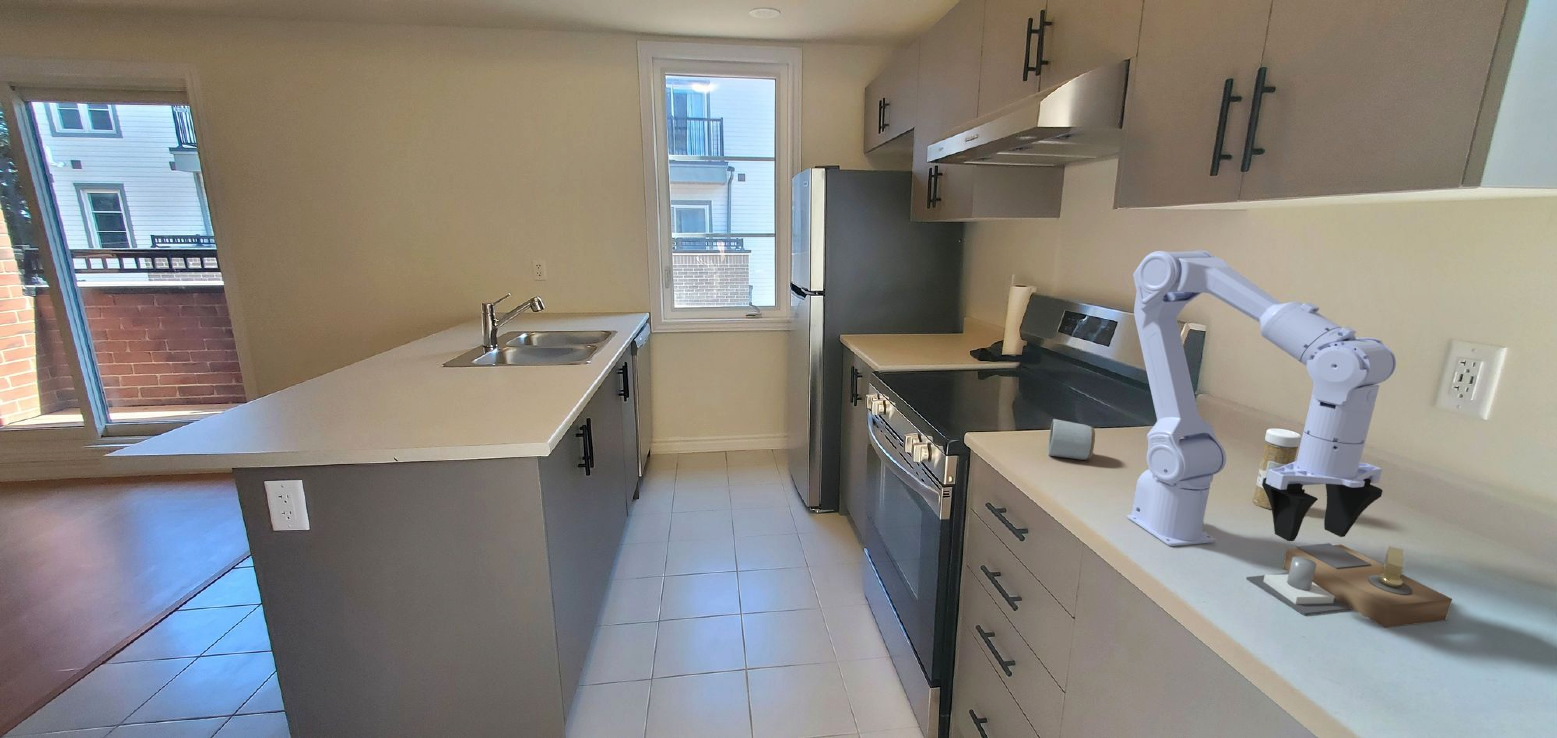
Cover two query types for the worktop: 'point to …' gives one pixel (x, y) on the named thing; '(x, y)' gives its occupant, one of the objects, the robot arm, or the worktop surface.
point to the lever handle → (1392, 568)
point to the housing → (1370, 587)
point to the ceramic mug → (1071, 440)
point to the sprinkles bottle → (1275, 458)
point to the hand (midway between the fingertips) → (1309, 535)
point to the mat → (1301, 608)
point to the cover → (1299, 583)
